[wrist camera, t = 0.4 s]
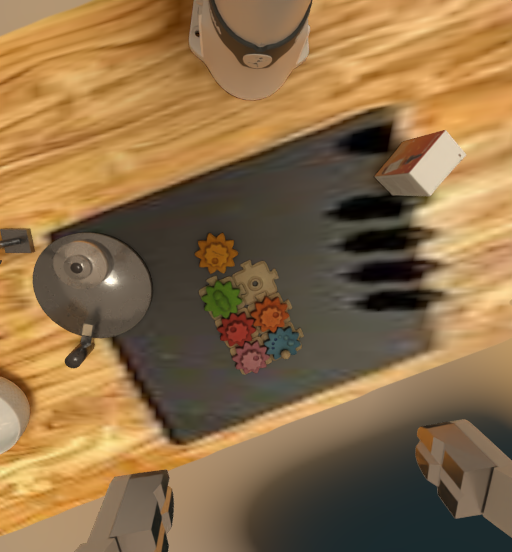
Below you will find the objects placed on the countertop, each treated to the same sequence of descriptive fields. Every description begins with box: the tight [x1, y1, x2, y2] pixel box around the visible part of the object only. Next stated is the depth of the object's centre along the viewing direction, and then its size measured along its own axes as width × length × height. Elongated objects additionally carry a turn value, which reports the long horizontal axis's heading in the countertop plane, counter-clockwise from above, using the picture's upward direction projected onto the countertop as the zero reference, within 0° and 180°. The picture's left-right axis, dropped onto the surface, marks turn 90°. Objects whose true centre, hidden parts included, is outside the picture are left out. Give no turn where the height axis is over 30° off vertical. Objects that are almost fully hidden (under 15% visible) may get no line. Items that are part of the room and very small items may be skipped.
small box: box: [374, 130, 466, 196], centre depth 47 cm, size 8×6×10 cm
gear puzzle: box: [195, 233, 304, 374], centre depth 55 cm, size 31×16×4 cm, turn 23°
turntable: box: [33, 232, 153, 368], centre depth 49 cm, size 23×20×6 cm
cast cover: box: [53, 239, 114, 289], centre depth 47 cm, size 8×8×5 cm
